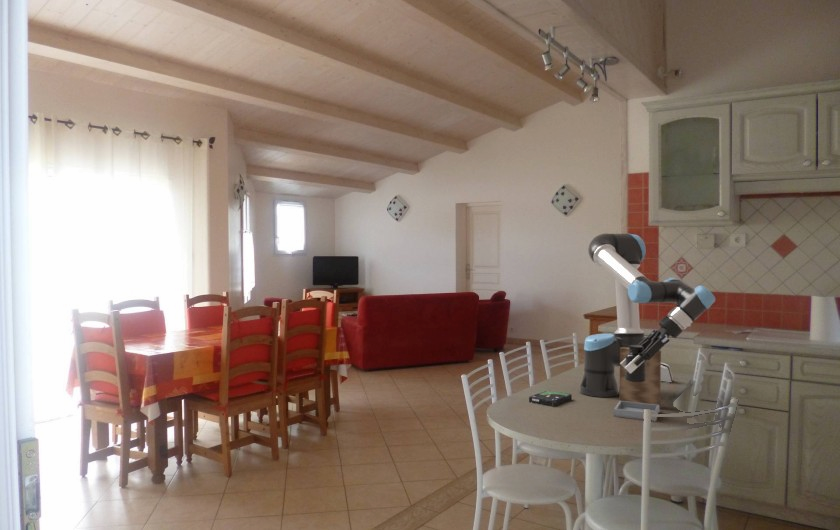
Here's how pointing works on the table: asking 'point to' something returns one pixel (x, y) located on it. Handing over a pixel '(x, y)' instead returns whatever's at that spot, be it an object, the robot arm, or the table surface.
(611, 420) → the table surface
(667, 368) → the white black curved block
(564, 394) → the disk drive
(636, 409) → the tray
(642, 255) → the robot arm
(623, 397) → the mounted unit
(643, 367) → the supplement bottle
